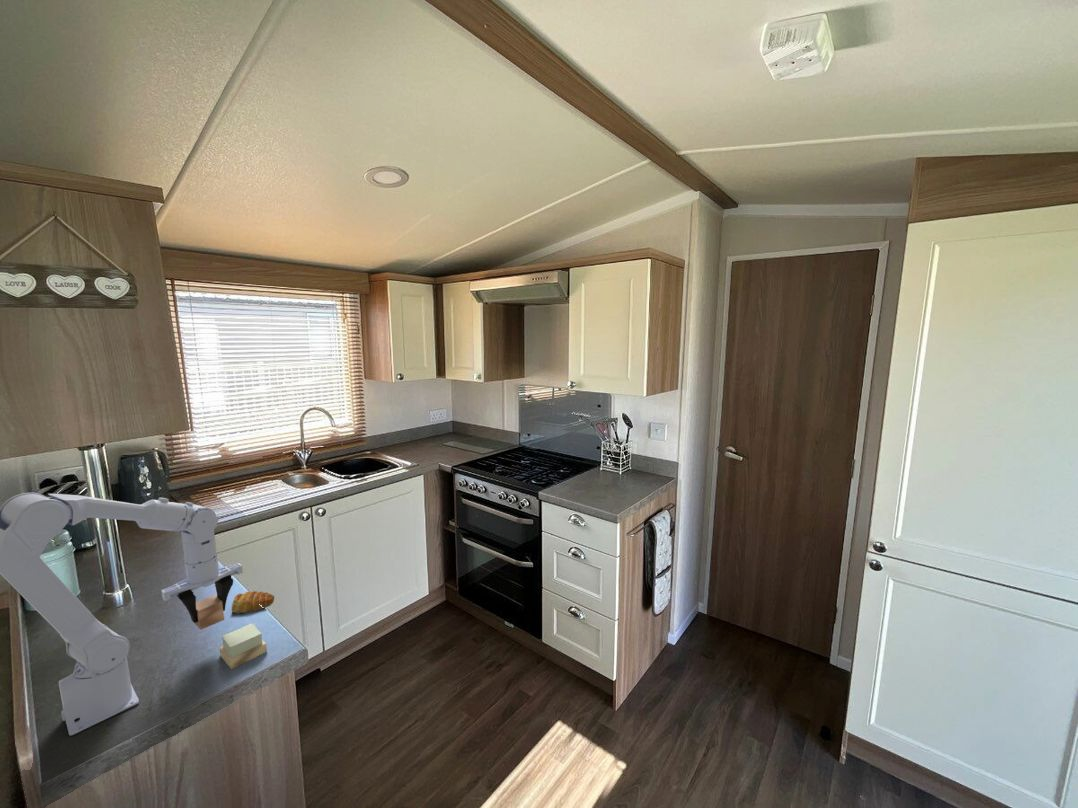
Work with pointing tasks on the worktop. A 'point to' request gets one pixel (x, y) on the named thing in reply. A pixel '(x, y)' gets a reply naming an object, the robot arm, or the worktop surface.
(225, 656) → the oak slab
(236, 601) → the pastry
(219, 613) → the terracotta cube
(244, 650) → the sage slab
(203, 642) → the worktop surface
